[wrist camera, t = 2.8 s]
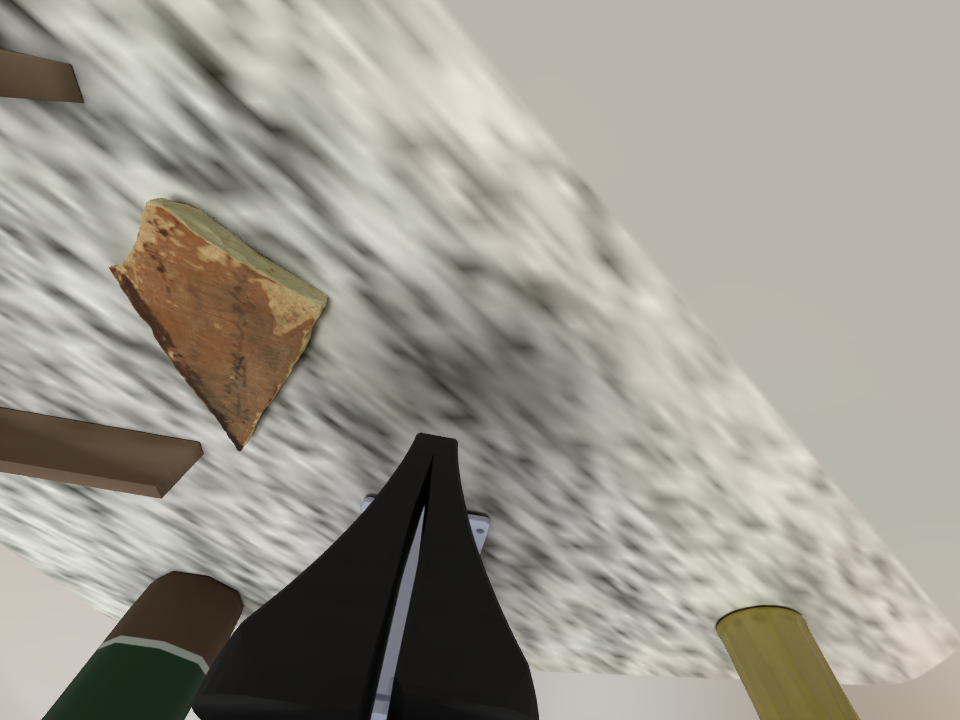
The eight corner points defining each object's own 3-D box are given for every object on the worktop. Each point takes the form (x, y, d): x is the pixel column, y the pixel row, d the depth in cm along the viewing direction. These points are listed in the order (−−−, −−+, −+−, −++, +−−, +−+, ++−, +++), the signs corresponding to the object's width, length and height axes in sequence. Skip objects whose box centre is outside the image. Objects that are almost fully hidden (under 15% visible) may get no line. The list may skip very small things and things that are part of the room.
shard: (256, 432, 20) (236, 456, 19) (112, 358, 18) (75, 378, 16) (343, 297, 15) (324, 314, 14) (159, 170, 13) (113, 175, 12)
